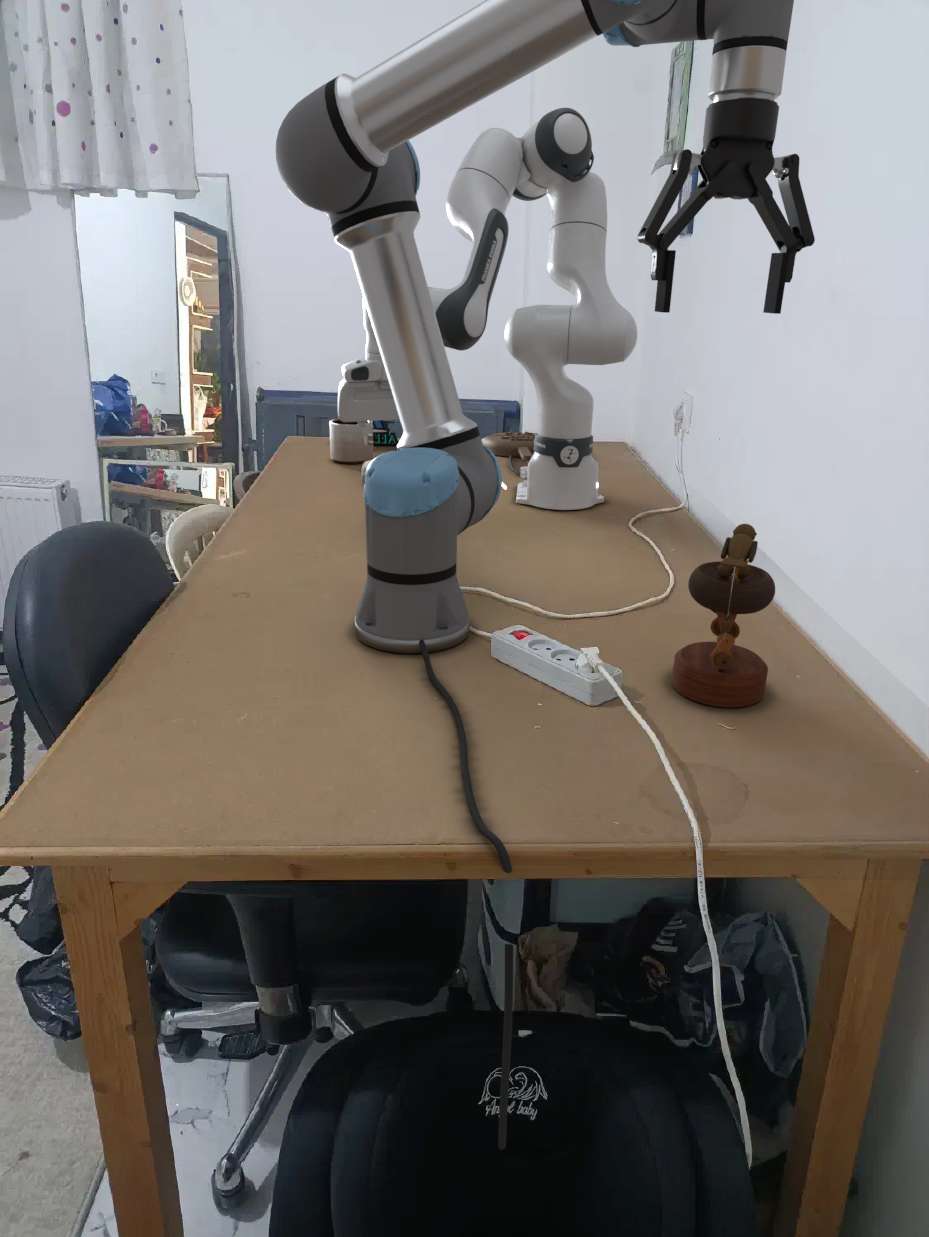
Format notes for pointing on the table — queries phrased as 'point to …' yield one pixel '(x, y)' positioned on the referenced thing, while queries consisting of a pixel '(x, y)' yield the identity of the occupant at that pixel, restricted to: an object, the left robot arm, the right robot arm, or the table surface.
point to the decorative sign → (383, 434)
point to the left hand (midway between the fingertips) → (717, 313)
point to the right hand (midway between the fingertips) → (394, 443)
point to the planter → (349, 442)
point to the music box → (726, 628)
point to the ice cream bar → (511, 444)
